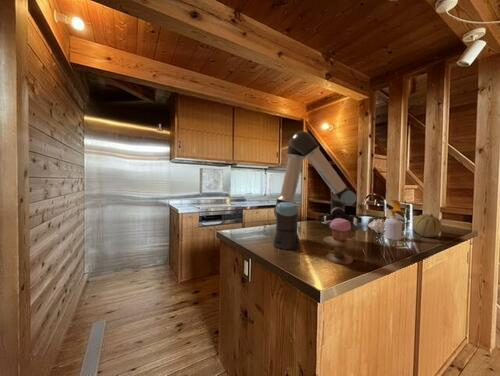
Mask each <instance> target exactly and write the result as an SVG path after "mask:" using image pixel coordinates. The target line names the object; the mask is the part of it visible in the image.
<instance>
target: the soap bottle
mask: <svg viewBox="0 0 500 376" xmlns="http://www.w3.org/2000/svg"><path fill="white" fill-rule="evenodd" d="M389 201H391V202H392V203H393V206H392V207H393V208H392V209H388V212H390V213H391V214H390V215H389V218H388V219H385V221H384V223H385V232H384V233H383V236H384V238H385V239H387V240H392V241H401V240H403V239H402V236H403V235H402V234H403V232H402V231H403V230H402V229H403V222H402V221H401V220H400V219H398V218H397V217H398V216H397V214H396V213H397V212H400V210H401V201H399V200H397V199H392V198H391V199H389Z"/></svg>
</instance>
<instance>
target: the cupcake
mask: <svg viewBox="0 0 500 376" xmlns="http://www.w3.org/2000/svg"><path fill="white" fill-rule="evenodd" d="M329 228H330V229H331V234H332V235H331V236H333V239H334V240H337V241H343V240H346V239H347V238H348V235H349V233H350V230H351V229H352V224H351V221H348V220H345V219H341V218H337V219H334V220H331V222H330V223H329Z"/></svg>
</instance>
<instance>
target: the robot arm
mask: <svg viewBox="0 0 500 376" xmlns="http://www.w3.org/2000/svg"><path fill="white" fill-rule="evenodd" d="M287 144H288V145H287V152H286V157H287V163H286V168H285V174H284V176H283V183H282V188H281V193H280V196H278V197H277V198H276V203H275V206H274V208H273V215H274V217H275V220H276V221H275V233H274V236H273V240H272V246H273V245H274V246H276V247H275V248H277V247H278V248H277V249H280V248H282V249H281V250H295V249H299V248H301V240H300V235H299V233H298V219H299V217H298V215H299V214H298V213H299V209H298V207H299V206H298V205H297V202H296V199H295V196H296V192H297V189H298V185H299V184H298V182H299V179H300V174H301V171H302V170H301V169H302V165H303V161H304V160H306V158H307V159H308V161H309V162H310V163H311V165H312V166H313V168H314V169H315V170H316V171H317V173H318V174H319V175H320V177H321V178H322V180H323V181H324V182H325V184H326V185H327V186H328V187H329V189H330V214H329V213H327V212H326V213H322V214H318V221H321V222H322V223H323V224H325V225H326V224H327V221H333V220H334V219H337V218H341V219H345V220H348V221H349V222H350V223H353V224H354V226H356V227H357V226H358V224H361V223H362V222H363V219H362V217H361V216H357V215H353V214H349V215H348V214H346V212H345V206H352V205H354V204H355V203H356V201H357V195H356V193H355V192H353V191H352V190H350V188H349V187H347V185H346V184H345V182H344V181H343V180H342V178H341V177H340V176H339V174H338V173H337V171H336V170H335V168H333V166H332V165H331V163H330V162H329V161H328V160H327V158H326V157H325V155H324V154H323V152H322V151H321V150H320V145H319V144H318V142H317V141H316V140H315V138H314V137H313V136H312V135H311V133H309V132H307V131H303V130H301V131H297V132H295V133H294V134H293V135H292V136H291V138H290V139H289V140H288V143H287ZM274 246H273V247H274Z"/></svg>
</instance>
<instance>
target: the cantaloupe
mask: <svg viewBox="0 0 500 376" xmlns="http://www.w3.org/2000/svg"><path fill="white" fill-rule="evenodd" d="M442 226H443V225H442V222H441V220H440V219H439V218H438V217H437V216H435V215H434V214H420V215H418V216H416V217H415V218H414V220H413V222H412V228H413V230H414V231H415V233H416V234H418V235H419V236H421V237H425V238H434V237H436V236H439V234H441V232H442V229H443V228H442Z"/></svg>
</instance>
